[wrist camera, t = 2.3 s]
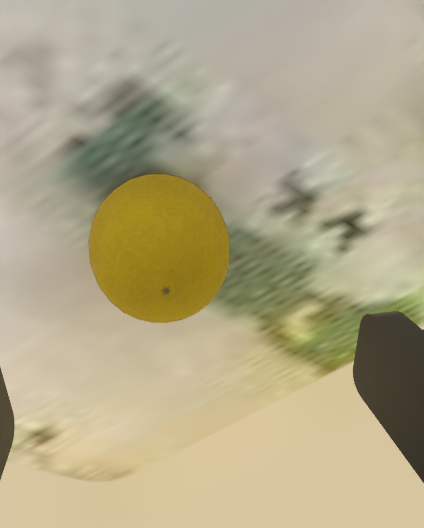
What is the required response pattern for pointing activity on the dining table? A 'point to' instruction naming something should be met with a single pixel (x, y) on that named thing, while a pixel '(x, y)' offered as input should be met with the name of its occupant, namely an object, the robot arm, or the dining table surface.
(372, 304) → the dining table surface
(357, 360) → the robot arm
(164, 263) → the lemon
